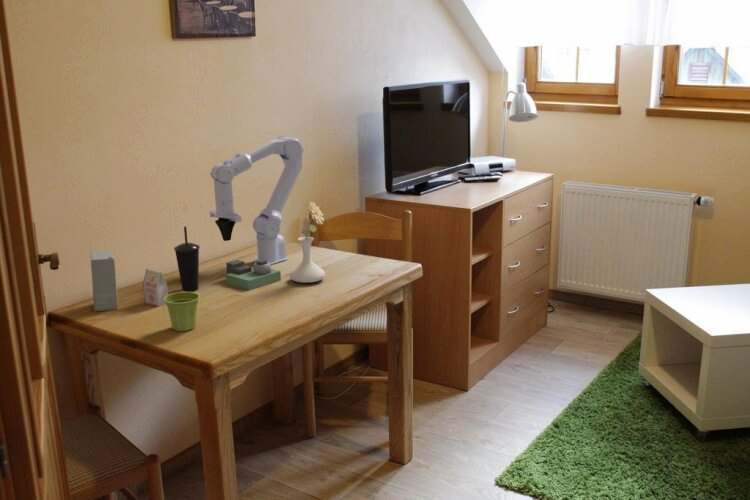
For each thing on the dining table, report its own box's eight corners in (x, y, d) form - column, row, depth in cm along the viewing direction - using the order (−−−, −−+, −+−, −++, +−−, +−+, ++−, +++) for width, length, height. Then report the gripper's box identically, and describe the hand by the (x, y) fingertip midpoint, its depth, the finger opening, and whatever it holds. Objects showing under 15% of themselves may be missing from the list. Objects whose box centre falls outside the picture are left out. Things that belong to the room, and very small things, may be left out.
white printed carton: (154, 299, 232) (151, 267, 230) (169, 303, 228) (166, 271, 226) (144, 302, 229) (141, 270, 227) (158, 306, 225) (155, 274, 223)
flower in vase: (309, 288, 240) (305, 208, 233) (282, 282, 246) (278, 204, 240) (336, 277, 250) (333, 201, 243) (309, 272, 256) (306, 197, 250)
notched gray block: (238, 276, 253) (237, 259, 252) (252, 280, 249) (251, 263, 247) (227, 279, 250) (226, 262, 249) (241, 283, 246) (240, 266, 244)
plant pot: (205, 321, 213) (202, 291, 211) (198, 333, 204) (196, 302, 202) (170, 322, 213) (168, 292, 210) (163, 334, 204) (159, 303, 201)
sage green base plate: (258, 274, 255) (257, 254, 254) (280, 280, 248) (279, 259, 246) (226, 283, 246) (225, 262, 244) (249, 290, 239) (247, 268, 237)
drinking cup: (196, 293, 236) (191, 230, 231) (173, 292, 238) (167, 229, 233) (207, 286, 244) (202, 224, 238) (184, 285, 245) (178, 223, 240)
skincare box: (93, 303, 229) (87, 252, 225) (118, 300, 232) (113, 249, 228) (94, 312, 222) (87, 259, 218) (120, 309, 224) (114, 256, 220)
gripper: (201, 199, 258) (204, 239, 262) (228, 205, 249) (231, 245, 252) (218, 196, 263) (221, 235, 267) (245, 201, 254) (248, 241, 257)
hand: (227, 240), depth 260 cm, fingers closed
